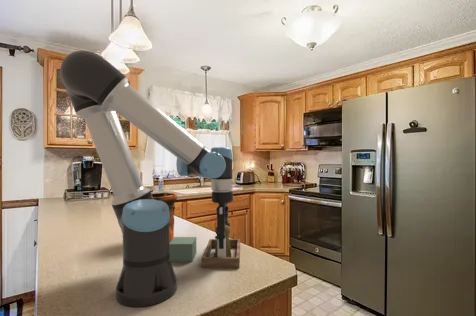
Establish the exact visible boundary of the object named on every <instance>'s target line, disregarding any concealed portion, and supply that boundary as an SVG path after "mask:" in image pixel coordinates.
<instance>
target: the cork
mask: <svg viewBox="0 0 476 316" xmlns="http://www.w3.org/2000/svg"><path fill="white" fill-rule="evenodd" d="M230 232H231V228H230V226H228V225H225V238H226V257H232V252H231V251H232V249H231V248H230V242H229V239H230V237H229V235H230ZM215 234H216V235H217V226H215ZM219 235H223V234H219ZM214 257H218V253H217V240H216V248H215V250H214Z"/></svg>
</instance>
